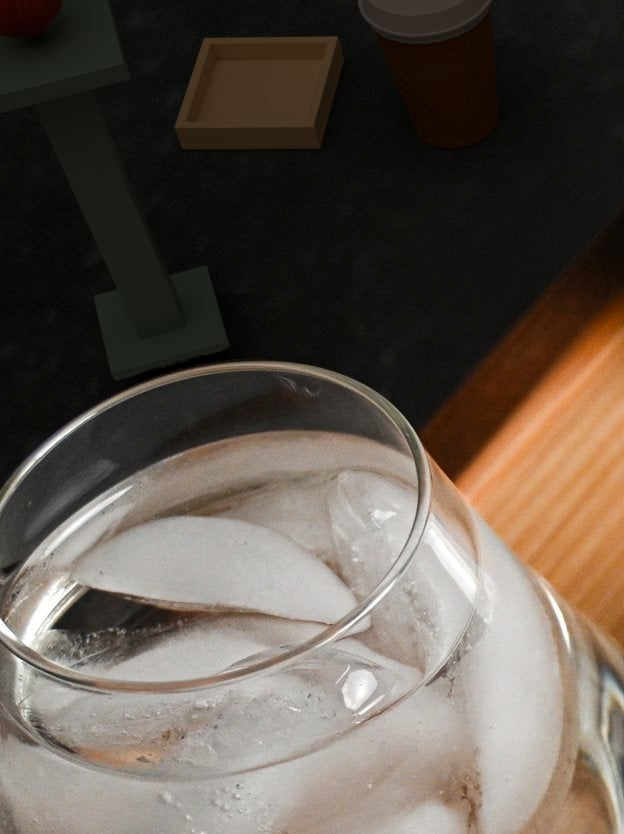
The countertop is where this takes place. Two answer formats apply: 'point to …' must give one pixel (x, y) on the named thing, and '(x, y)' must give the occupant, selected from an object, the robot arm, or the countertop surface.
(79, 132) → the stand
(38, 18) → the onion
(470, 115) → the disposable coffee cup
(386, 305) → the countertop surface
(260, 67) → the tray
